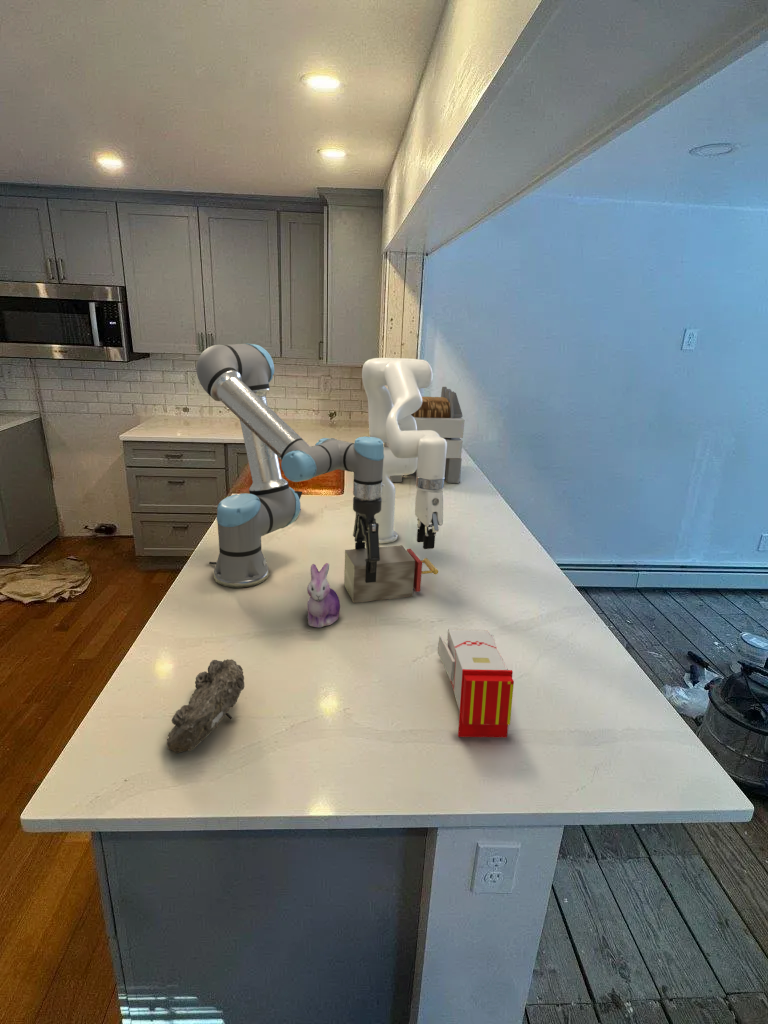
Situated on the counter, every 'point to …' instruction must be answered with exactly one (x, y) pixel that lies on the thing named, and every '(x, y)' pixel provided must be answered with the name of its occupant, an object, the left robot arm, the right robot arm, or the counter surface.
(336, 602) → the figurine
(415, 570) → the drawer
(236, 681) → the fossil
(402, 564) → the cabinet
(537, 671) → the counter surface
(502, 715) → the toy
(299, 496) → the figurine character
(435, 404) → the transformer
